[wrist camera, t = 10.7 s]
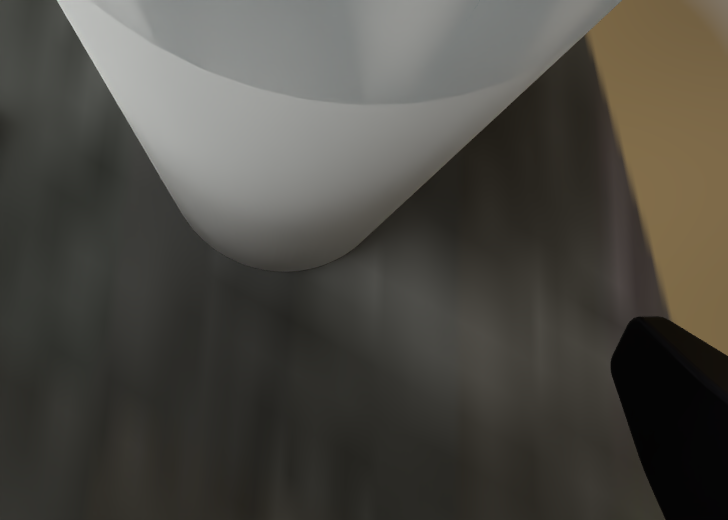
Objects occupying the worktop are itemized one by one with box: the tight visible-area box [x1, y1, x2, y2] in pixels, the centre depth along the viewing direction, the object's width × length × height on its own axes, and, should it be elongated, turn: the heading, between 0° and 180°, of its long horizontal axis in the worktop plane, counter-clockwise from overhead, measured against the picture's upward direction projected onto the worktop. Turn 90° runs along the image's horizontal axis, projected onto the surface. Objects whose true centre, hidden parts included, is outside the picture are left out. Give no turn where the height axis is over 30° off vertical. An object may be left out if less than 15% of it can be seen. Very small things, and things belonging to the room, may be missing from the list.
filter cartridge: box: [57, 0, 622, 272], centre depth 10 cm, size 6×6×13 cm
